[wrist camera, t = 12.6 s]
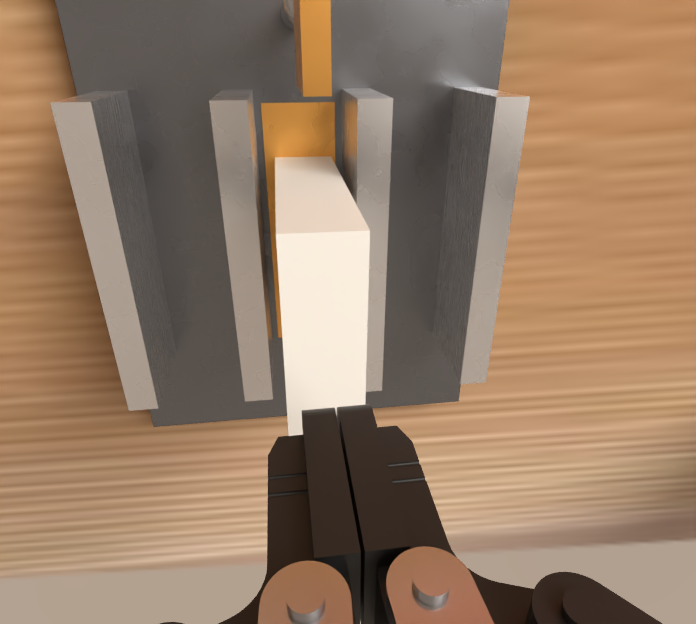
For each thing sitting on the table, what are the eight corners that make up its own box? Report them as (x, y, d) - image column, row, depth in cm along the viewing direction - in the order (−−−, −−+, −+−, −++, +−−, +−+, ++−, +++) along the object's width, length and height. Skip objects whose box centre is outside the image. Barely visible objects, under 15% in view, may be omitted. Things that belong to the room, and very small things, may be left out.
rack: (499, -39, 21) (753, -135, 10) (450, 385, 30) (549, 574, 20) (58, -48, 19) (-244, -180, 8) (159, 409, 28) (88, 633, 18)
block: (331, 156, 22) (369, 230, 13) (332, 301, 25) (364, 439, 16) (274, 157, 21) (275, 233, 13) (283, 304, 25) (289, 446, 16)
